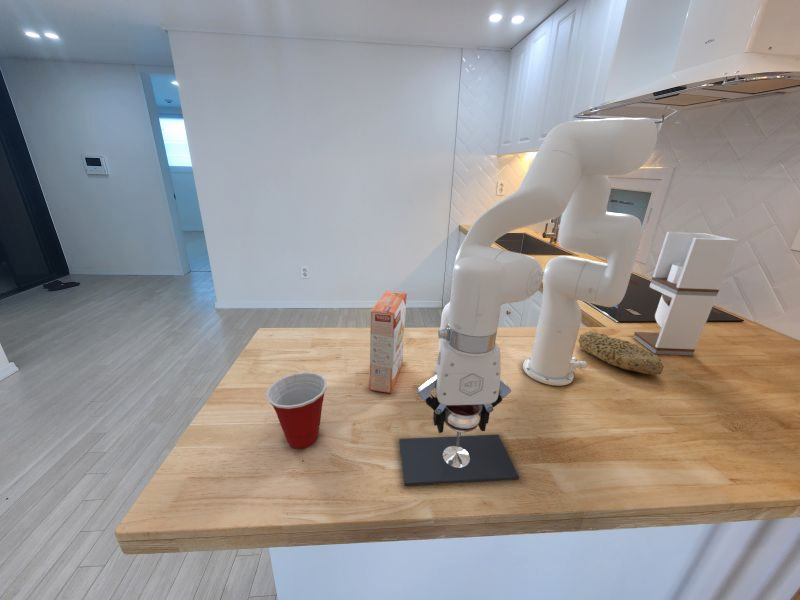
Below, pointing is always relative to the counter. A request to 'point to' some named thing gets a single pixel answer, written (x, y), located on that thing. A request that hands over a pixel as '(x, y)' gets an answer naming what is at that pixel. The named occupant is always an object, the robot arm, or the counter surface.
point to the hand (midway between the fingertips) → (459, 425)
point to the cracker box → (387, 340)
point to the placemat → (430, 467)
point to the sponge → (621, 353)
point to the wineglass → (460, 430)
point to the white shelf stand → (686, 289)
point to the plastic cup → (298, 406)
